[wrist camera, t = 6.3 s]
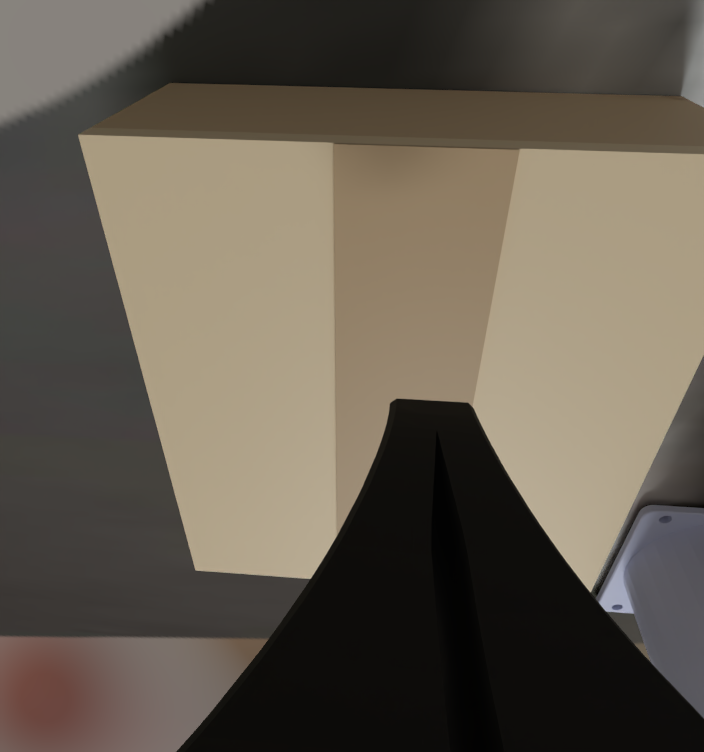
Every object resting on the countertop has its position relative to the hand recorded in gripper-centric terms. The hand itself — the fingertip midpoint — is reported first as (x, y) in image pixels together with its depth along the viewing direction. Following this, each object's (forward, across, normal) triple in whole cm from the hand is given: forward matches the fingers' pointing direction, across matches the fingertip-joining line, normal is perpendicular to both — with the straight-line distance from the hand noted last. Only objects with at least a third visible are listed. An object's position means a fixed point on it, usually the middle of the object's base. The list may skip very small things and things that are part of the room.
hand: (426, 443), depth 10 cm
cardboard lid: (+5, 0, +4) cm, 6 cm away
